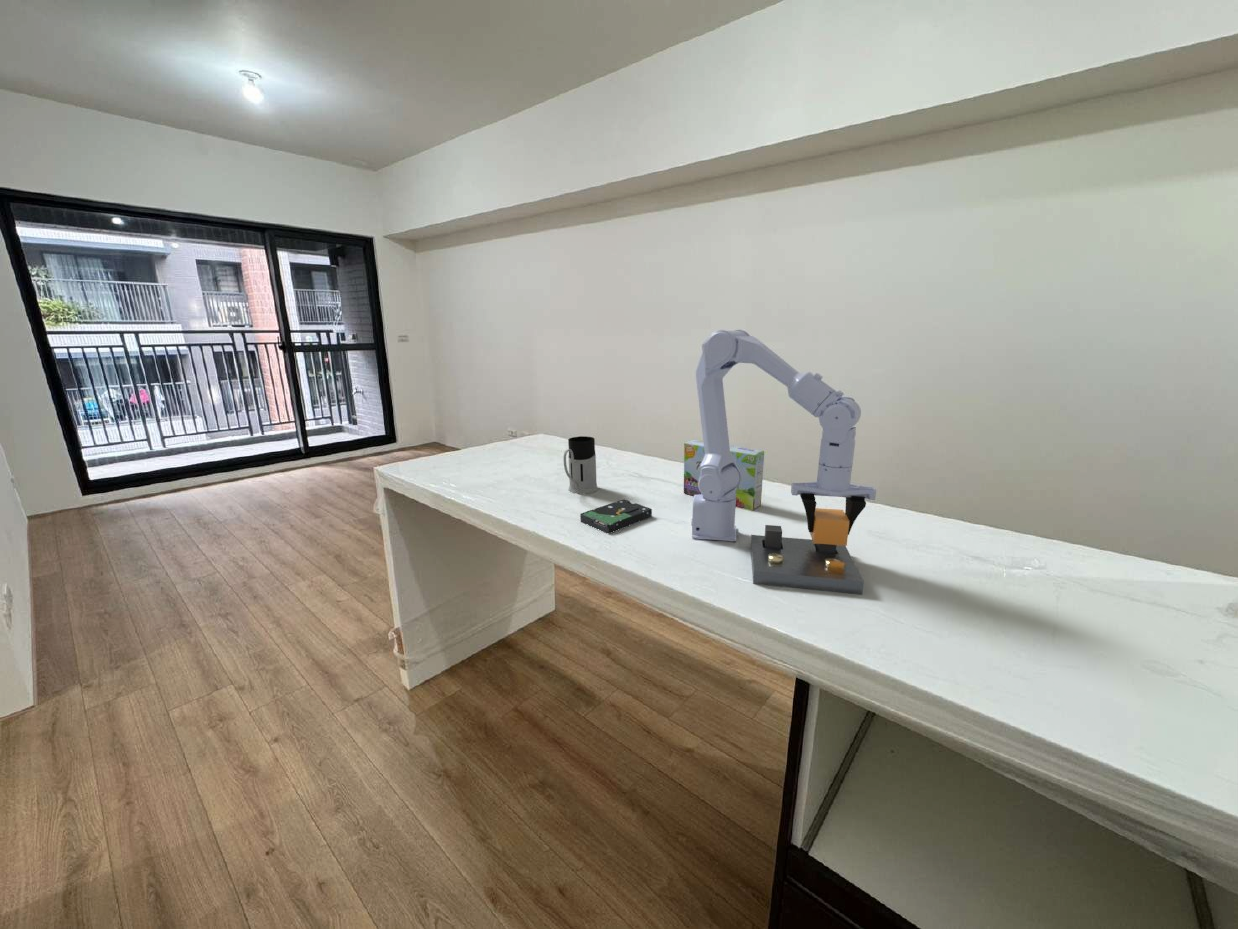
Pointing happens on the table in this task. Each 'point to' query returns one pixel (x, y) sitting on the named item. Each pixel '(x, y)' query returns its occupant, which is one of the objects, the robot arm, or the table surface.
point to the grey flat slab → (804, 566)
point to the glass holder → (581, 464)
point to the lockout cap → (830, 527)
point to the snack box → (746, 461)
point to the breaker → (773, 537)
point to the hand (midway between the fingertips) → (827, 531)
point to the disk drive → (615, 515)
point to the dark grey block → (826, 548)
